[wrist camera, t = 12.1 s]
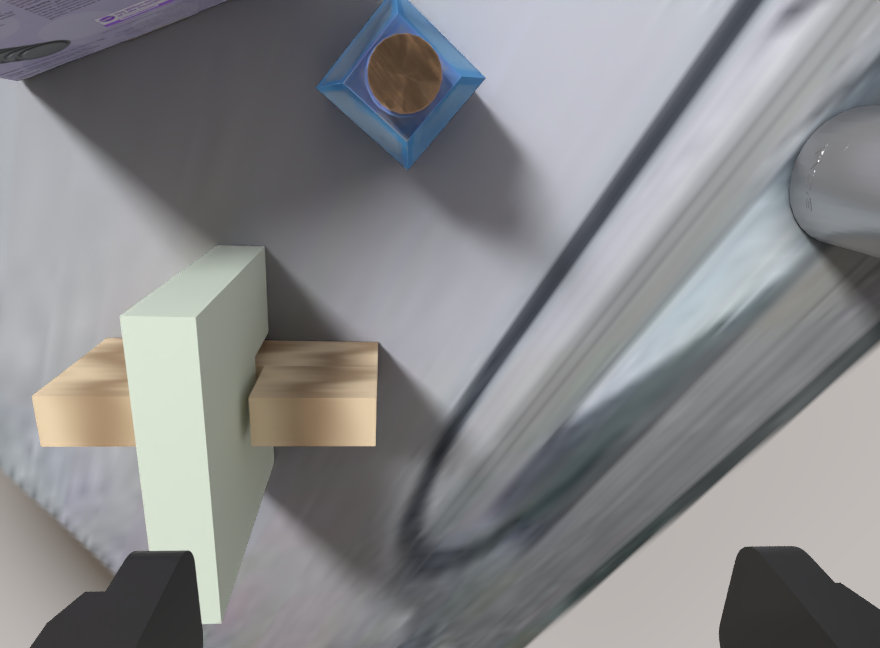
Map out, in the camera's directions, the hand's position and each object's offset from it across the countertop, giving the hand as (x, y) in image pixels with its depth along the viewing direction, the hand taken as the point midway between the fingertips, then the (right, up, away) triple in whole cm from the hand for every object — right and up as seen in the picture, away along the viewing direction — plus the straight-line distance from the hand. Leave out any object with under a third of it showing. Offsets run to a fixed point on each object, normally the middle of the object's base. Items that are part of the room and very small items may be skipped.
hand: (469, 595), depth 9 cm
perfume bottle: (-3, +18, +28) cm, 34 cm away
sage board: (-14, +1, +32) cm, 35 cm away
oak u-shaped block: (-14, +1, +32) cm, 35 cm away
